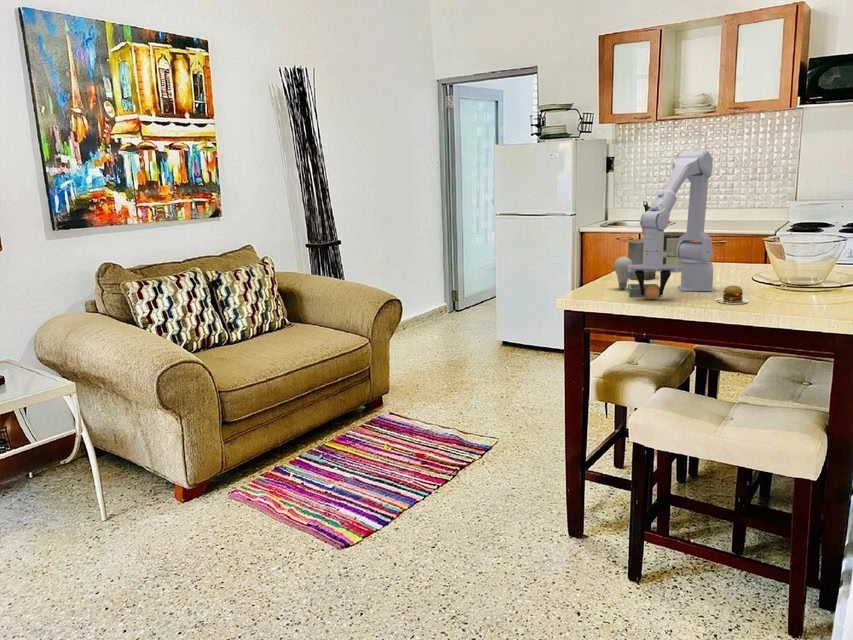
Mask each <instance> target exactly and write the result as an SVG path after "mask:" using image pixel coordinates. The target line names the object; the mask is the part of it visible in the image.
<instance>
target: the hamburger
mask: <svg viewBox="0 0 853 640" xmlns="http://www.w3.org/2000/svg"><path fill="white" fill-rule="evenodd" d="M722 294H723V296H722V297H718V298H715V301H716V302H718V303H719V302H720V304H723V303H726V302H728V303H726V304H725V305H744V303H745V304H747V303H749V300H748V299H746V298H743V296H744V295H743V294H744V292H743V289H742V288H741V287H740V286H738V285H728V286H726V287H725V288H724V289H723V293H722ZM719 299H723V300H722V301H720V300H719ZM717 300H719V301H717ZM742 300H743V301H742ZM724 301H725V302H724ZM744 301H745V302H744Z"/></svg>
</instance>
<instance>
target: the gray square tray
mask: <svg viewBox="0 0 853 640" xmlns="http://www.w3.org/2000/svg"><path fill="white" fill-rule="evenodd" d="M649 284H650V283H644V288H645V287H646V286H647V285H649ZM654 284H655V285H657V286H658V287H659V289H660V285H659V284H658V283H654ZM627 293H629V294H628V296H629V298H646V297H645V296H642V295H641V290H640V285H639V283H627ZM657 298H661V296H660V295H659V296H658V297H657Z"/></svg>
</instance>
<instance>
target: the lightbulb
mask: <svg viewBox="0 0 853 640" xmlns="http://www.w3.org/2000/svg"><path fill="white" fill-rule="evenodd" d="M628 265H633V263H632V261H631V260H630V259H629V258H628V256H619V257H618V258H617V259H615V261H614V263H613V269H614V272H615V274H616V276H617V281H618V288H619V289H621V290H622V289H623V290H625V289H627V288H628V281H629V278H628V276H629V274H630V272H628V271H627V269H628Z"/></svg>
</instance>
